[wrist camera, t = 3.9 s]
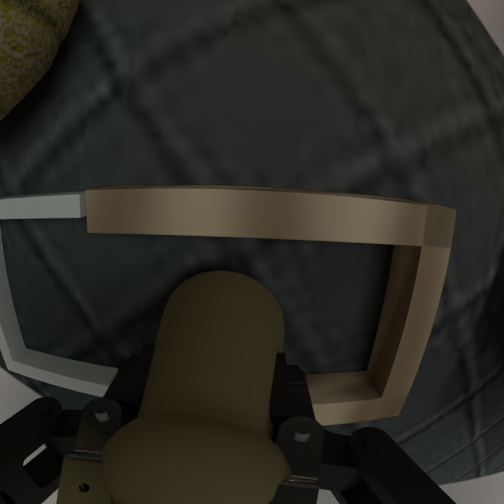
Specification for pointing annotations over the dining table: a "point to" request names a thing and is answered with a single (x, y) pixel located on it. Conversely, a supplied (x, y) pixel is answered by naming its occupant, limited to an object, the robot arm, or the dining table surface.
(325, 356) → the dining table surface
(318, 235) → the oak channel
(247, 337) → the olive gourd
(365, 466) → the robot arm
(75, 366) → the grey u-shaped staple
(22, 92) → the cantaloupe
